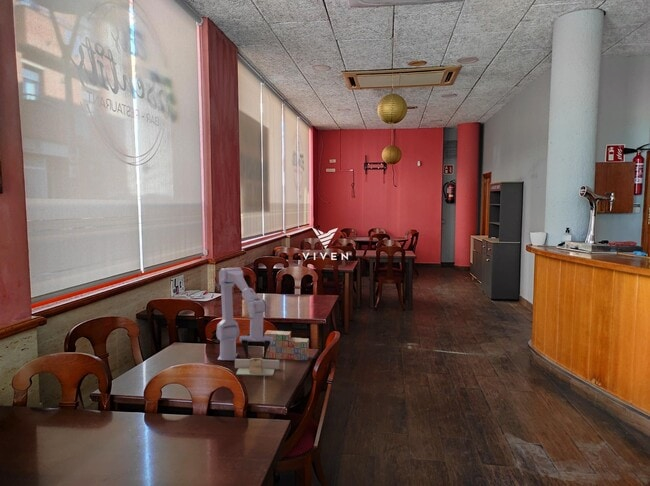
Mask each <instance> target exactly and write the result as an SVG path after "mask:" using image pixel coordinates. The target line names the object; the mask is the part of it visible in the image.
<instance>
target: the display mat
mask: <svg viewBox="0 0 650 486" xmlns="http://www.w3.org/2000/svg"><path fill="white" fill-rule="evenodd" d="M274 373H275V369H262V371H261V373H249V368H237V371H236V373H235V376H266V377H267V376H270V377H271V376H274Z"/></svg>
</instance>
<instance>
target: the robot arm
mask: <svg viewBox="0 0 650 486" xmlns="http://www.w3.org/2000/svg"><path fill="white" fill-rule="evenodd" d="M218 285H219V286H220V294H221V297H220V298H221V314H222V315H221V316H222V319H221V320H220V321H219V322H218V323H217V324H216V332H215V335H216V338H217V340H218V341H219V356H218V357H217V360H218V361H235V359H237V357H238V355H239V354H238V352H237V351H236V350H237V349H236V347H237V341H236V340H237V339H238V337H239V340H238V341H239V342H241V346H242V348H243V350H244V355H245V359H248V358H249V342H259V343H260V342H263V359H266V358H265V357H266V352H267V349H268V347H269V345H270V342H273V337H269V336H264V313H265V312H266V310H267V302H266V301H265V299H264V298H261V297H259V295H257V293H256V292H255V290H254V288H252V287H249V285H248V284H247V282H246V280H245V278H244V271H243V270H242V268H241V267H240V266H239V267H227V268H226V267H225V268H224V267H222V268H221V269H220V270H219V272H218ZM234 285H236V286H237V288H238V289H239V290H240V291H241V297H242V299H243V300H244V302H245V304H247V311H248V317H249V335H240V327H239V323H238V322H237V321H236V320H235V319H234V305H233V304H234V303H233V287H234ZM236 352H237V353H236Z"/></svg>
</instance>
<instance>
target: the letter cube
mask: <svg viewBox="0 0 650 486" xmlns="http://www.w3.org/2000/svg"><path fill="white" fill-rule="evenodd" d="M249 359H250V362H249V373H261V371H262V360H263V358H262V357H251V358H249Z"/></svg>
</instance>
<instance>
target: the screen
mask: <svg viewBox="0 0 650 486" xmlns="http://www.w3.org/2000/svg"><path fill="white" fill-rule="evenodd" d="M250 359H251V358H249V359H248V358H235V360H234V369H239V368H249V362H250ZM262 369H274V370H280V359H262Z"/></svg>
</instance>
